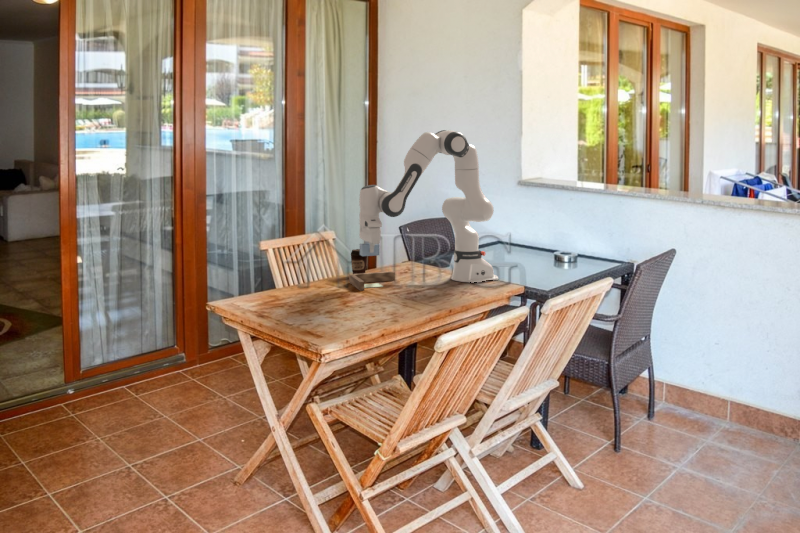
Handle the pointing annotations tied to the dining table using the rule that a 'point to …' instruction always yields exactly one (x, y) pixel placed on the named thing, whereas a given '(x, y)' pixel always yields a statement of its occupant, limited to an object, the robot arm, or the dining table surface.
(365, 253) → the block
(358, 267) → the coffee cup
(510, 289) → the dining table surface
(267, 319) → the dining table surface
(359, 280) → the brown l-shaped corner fence
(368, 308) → the dining table surface
